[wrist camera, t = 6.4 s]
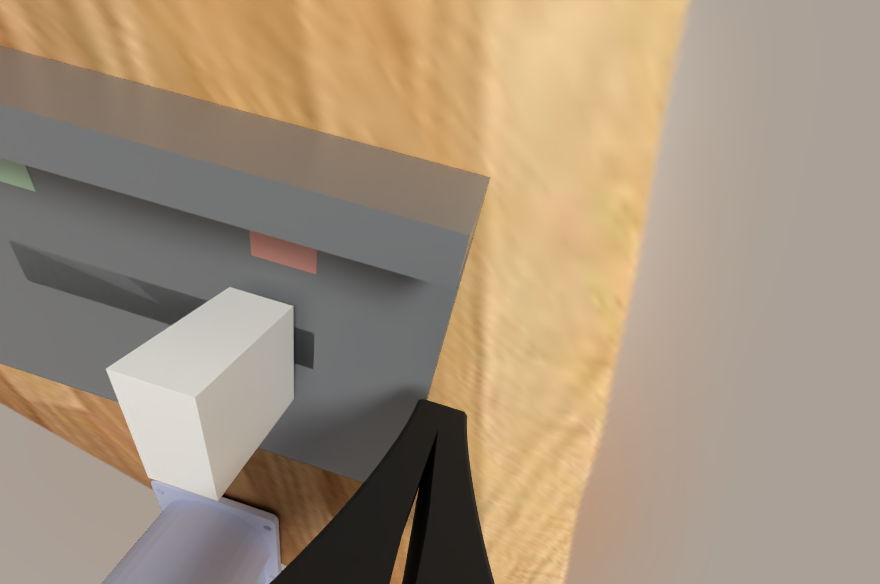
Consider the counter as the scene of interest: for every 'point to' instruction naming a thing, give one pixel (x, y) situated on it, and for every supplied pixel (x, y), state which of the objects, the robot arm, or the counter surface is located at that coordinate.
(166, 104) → the switch panel
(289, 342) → the knob
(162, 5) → the counter surface
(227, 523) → the robot arm
